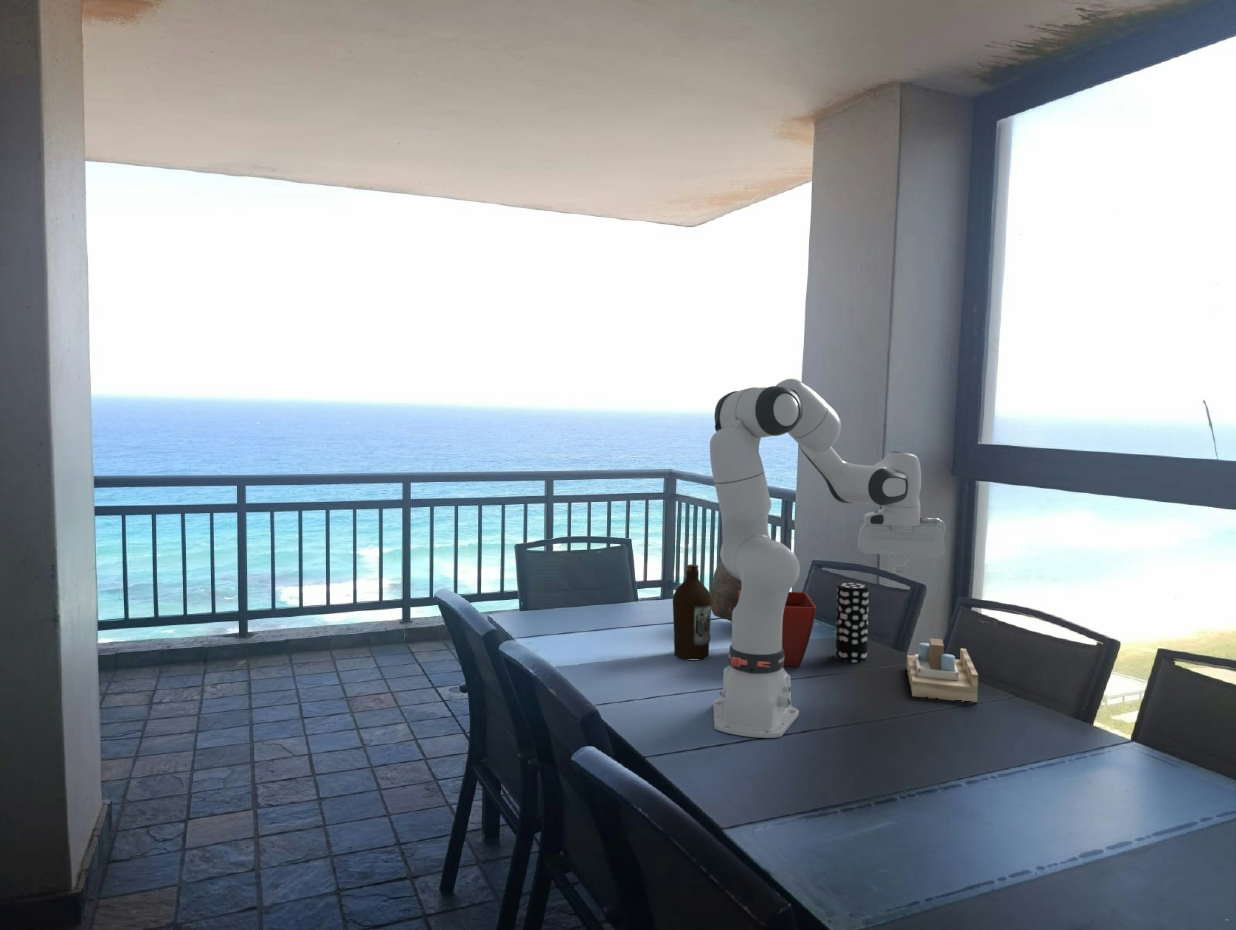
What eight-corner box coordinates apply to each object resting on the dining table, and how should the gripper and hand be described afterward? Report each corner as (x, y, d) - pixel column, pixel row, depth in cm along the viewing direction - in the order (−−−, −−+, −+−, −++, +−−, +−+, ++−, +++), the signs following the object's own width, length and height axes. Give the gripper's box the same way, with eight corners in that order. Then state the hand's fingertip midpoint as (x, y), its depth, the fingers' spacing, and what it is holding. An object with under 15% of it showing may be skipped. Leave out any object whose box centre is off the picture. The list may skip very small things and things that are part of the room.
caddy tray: (958, 680, 184) (959, 651, 184) (917, 676, 187) (918, 647, 187) (952, 664, 197) (953, 636, 196) (914, 660, 200) (915, 633, 199)
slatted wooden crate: (977, 702, 179) (978, 675, 179) (912, 696, 184) (913, 668, 183) (964, 673, 200) (965, 648, 200) (906, 668, 205) (907, 643, 204)
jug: (697, 621, 251) (698, 529, 250) (757, 617, 258) (758, 526, 256) (730, 641, 228) (732, 540, 226) (795, 636, 234) (797, 537, 233)
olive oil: (664, 655, 215) (665, 565, 213) (689, 647, 222) (690, 560, 221) (693, 663, 207) (694, 570, 206) (718, 655, 214) (720, 565, 213)
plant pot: (805, 650, 220) (806, 591, 219) (815, 671, 201) (816, 607, 200) (736, 648, 222) (737, 589, 221) (740, 668, 203) (741, 605, 202)
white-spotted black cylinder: (863, 653, 217) (865, 582, 216) (870, 662, 209) (872, 589, 208) (833, 652, 218) (834, 581, 217) (838, 661, 210) (840, 588, 209)
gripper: (944, 517, 193) (942, 572, 194) (857, 514, 198) (856, 568, 199) (948, 520, 187) (946, 577, 188) (859, 517, 192) (857, 572, 193)
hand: (899, 572), depth 193 cm, fingers closed
